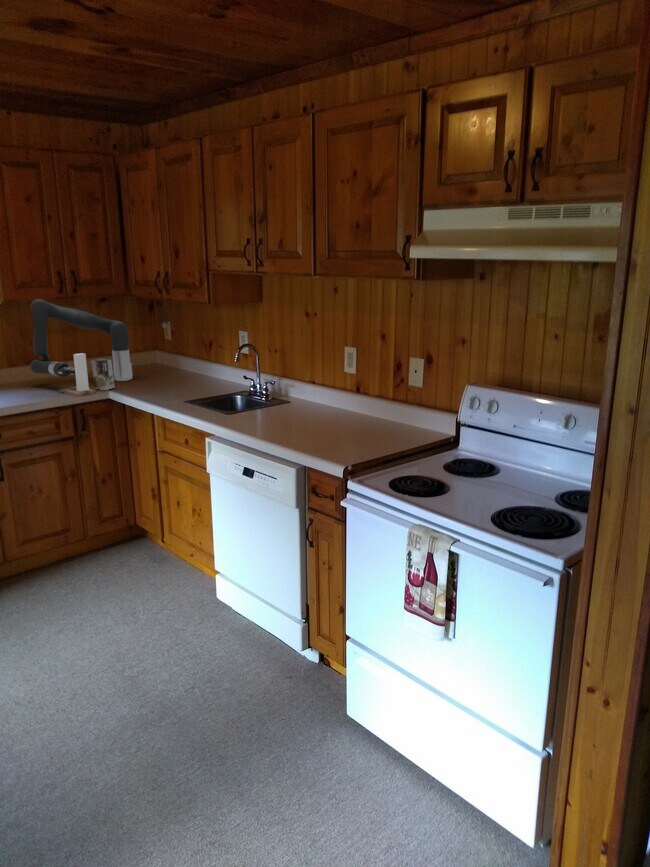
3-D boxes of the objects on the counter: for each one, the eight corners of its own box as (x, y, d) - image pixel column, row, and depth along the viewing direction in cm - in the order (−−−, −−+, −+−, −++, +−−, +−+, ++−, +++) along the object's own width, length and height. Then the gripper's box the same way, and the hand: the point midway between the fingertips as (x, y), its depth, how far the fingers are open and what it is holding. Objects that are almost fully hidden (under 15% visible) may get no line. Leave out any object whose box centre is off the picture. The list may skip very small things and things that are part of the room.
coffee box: (115, 388, 358) (112, 358, 354) (110, 390, 352) (107, 360, 348) (99, 387, 359) (96, 358, 355) (93, 390, 353) (91, 360, 349)
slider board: (75, 389, 355) (75, 386, 355) (95, 392, 346) (95, 389, 346) (59, 392, 347) (59, 389, 347) (79, 396, 338) (79, 393, 338)
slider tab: (84, 389, 347) (81, 353, 342) (89, 390, 345) (86, 353, 339) (76, 390, 343) (72, 354, 338) (81, 391, 341) (77, 355, 335)
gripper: (47, 364, 345) (67, 367, 336) (69, 360, 356) (89, 363, 346) (48, 378, 347) (69, 381, 338) (70, 374, 358) (90, 377, 348)
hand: (79, 372), depth 342 cm, fingers closed
